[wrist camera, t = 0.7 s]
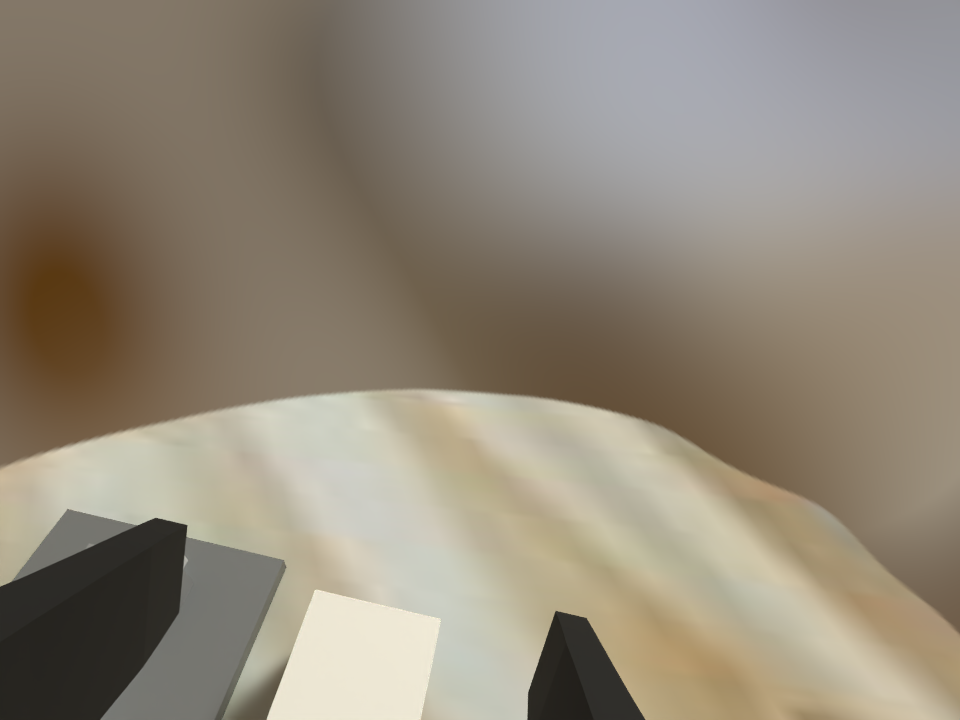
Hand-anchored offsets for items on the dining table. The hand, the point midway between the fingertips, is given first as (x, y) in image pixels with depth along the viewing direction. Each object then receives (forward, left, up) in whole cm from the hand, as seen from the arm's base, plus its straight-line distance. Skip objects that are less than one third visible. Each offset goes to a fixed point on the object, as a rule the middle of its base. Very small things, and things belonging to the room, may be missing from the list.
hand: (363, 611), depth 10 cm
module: (0, +1, -17) cm, 17 cm away
